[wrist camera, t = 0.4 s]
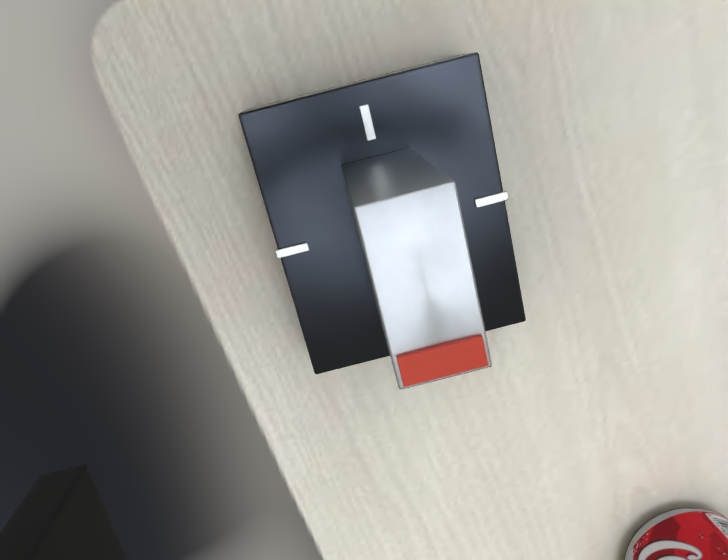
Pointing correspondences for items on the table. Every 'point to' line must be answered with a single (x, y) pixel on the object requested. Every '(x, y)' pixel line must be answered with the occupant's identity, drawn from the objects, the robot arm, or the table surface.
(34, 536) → the robot arm
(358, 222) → the knob
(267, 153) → the panel
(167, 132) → the table surface
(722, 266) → the table surface
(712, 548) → the soda can
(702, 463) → the table surface
